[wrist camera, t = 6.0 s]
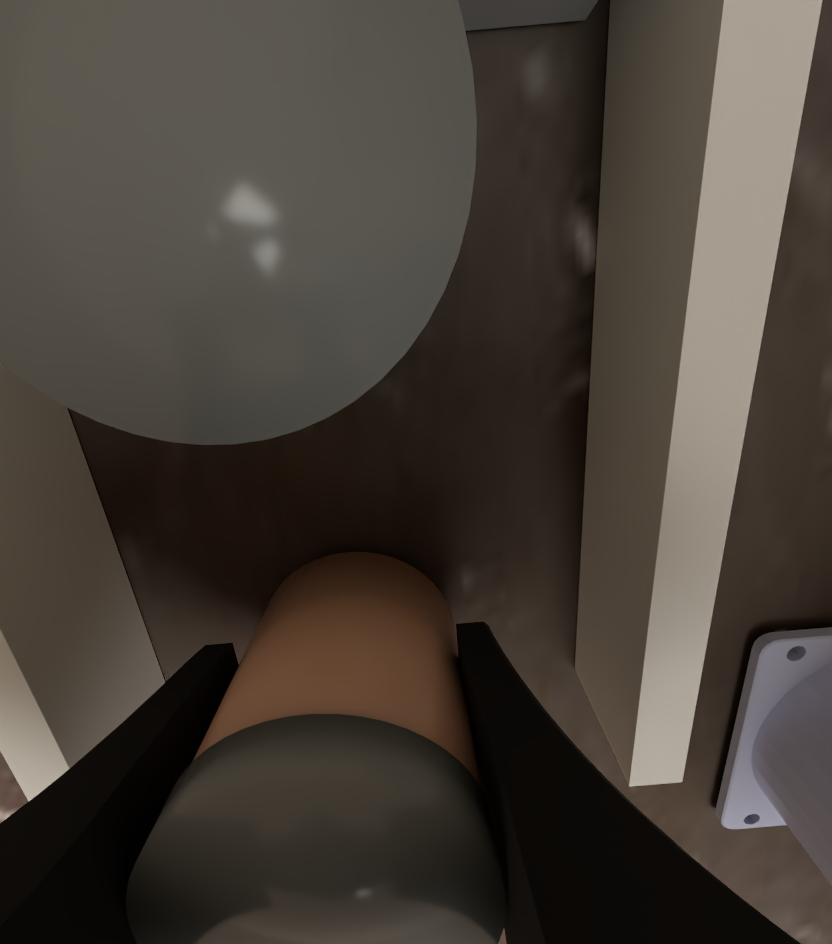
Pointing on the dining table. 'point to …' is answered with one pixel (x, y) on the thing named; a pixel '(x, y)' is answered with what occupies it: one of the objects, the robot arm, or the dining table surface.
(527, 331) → the dining table surface
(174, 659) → the dining table surface
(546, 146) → the dining table surface
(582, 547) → the u-frame with teal panels
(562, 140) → the dining table surface
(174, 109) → the sage jar
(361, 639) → the terracotta jar
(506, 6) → the pusher
